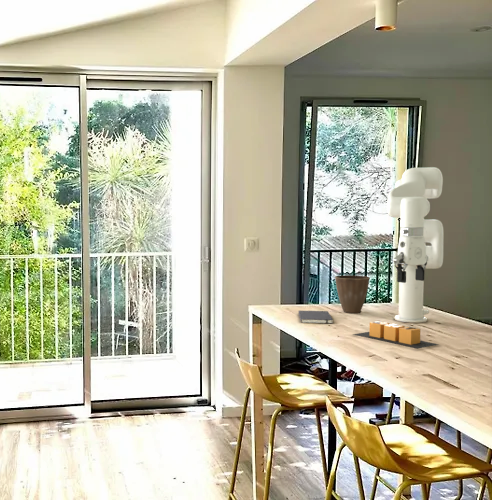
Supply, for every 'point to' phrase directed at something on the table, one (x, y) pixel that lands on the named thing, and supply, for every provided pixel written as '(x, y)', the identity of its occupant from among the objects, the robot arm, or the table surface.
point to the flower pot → (352, 292)
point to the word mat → (416, 346)
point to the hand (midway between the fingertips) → (410, 281)
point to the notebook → (315, 317)
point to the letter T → (409, 335)
